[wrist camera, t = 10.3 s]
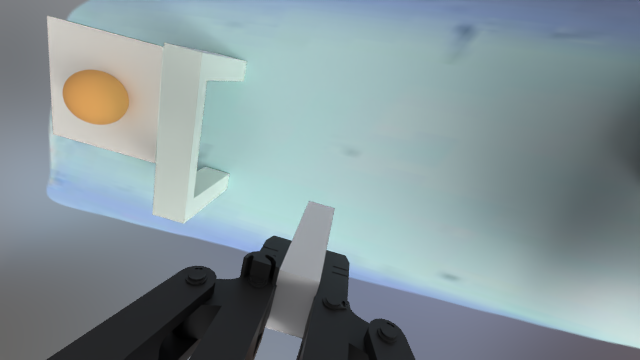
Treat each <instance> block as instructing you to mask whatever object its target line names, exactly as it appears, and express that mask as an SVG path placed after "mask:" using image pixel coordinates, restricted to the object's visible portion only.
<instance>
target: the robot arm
mask: <svg viewBox="0 0 640 360" xmlns="http://www.w3.org/2000/svg"><path fill="white" fill-rule="evenodd" d="M334 209H335V208H332V207H328V206H325V205H321V204H318V203H314V202H311V201H309V202H308V205H307V207H306V209H305V212H304V214H303V216H302V219H301V221H300V223H299V226H298V228H297V230H296V233H295V235H294V237H293V240H292V241H291V240H287V239H284V238H280V237H277V236H272V237H271V238H269V239H267V240H266V242H265V243H264V245H263V247H262V248H261V250H260V251H257V252H251V253H249V254H247V255H246V256H245V257H244V260H243V265H242V270H241V275H240V277H239V278H236V279H216V275H215V272H214V271H212V270H211V269H210V268H207V267H204V266H192V267H187V268H185V269H183V270H181V271H180V272H178V273H177V274H175V275H174V276H172V277H171V278H169V279H168V280H166V281H164V282H163V283H161V284H160V285H158V286H157V287H155V288H154V289H152V290H151V291H150V292H148V293H146V294H145V295H143V296H142V297H140V298H139V299H137V300H136V301H134V302H133V303H131V304H130V305H129V306H127V307H125V308H124V309H122V310H121V311H119V312H118V313H116V314H115V315H113V316H112V317H110V318H109V319H107V320H106V321H104V322H103V323H101V324H100V325H98V326H97V327H95V328H93V329H92V330H91V331H89V332H87V333H86V334H84V335H83V336H82V337H80V338H78V339H77V340H75V341H74V342H72V343H71V344H69V345H68V346H66V347H65V348H64V349H62V350H60V351H59V352H57V353H56V354H54V355H53V356H51V357H50V358H48V359H47V360H187V359H188V358H189V357H190V356H191V357H190V359H189V360H254V358H255V356H256V353H257V350H258V348H259V345H260V343H261V340H262V336H263V332H264V328H265V326H266V328H269V329H273V330H276V331H279V332H283V333H286V334H289V335H292V336H296V337H299V338H302V343H301V346H300V349H299V353H298V356H297V359H296V360H415V358H414V355H413V353H412V351H411V349H410V346H409V344H408V342H407V339H406V337H405V335H404V334H403V332H402V331H401V329H400V328H399V327H398V326H396V325H395V324H394V323H392V322H390V321H388V320H385V319H375V320H373V321H371V322H370V324H369V323H368V322H366V321H364V320H362V319H361V318H359V317H358V316H357V315H355V314H354V313H353V312H352V310H351V309H350V305H349V302H348V301H347V296H348V279H349V278H348V277H349V261H348V260H347V258H346V256H345V255H342V254H338V253H335V252H331V251H328V250H326V249H327V244H328V239H329V234H330V229H331V224H332V219H333V214H334Z"/></svg>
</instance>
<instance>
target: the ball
mask: <svg viewBox="0 0 640 360" xmlns="http://www.w3.org/2000/svg"><path fill="white" fill-rule="evenodd" d="M62 94H63V99H64V102H65V104H66V106H67V108H68V109H69V110H70V112H71V113H72V114H74V115H75V116H76V117H77V118H79V119H81V120H83V121H85V122H88V123H91V124H97V125H105V124H111V123H114V122H116V121H118V120H119V119H121V118H122V117H123V116H124V115H125V113H126V112H127V109H128V106H129V97H128V93H127V91H126V89H125V87H124V86H123V85H122V83H121V82H120V81H119V80H118V79H116V78H115V77H114V76H112V75H110V74H108V73H106V72H103V71H99V70H82V71H79V72H76V73H74V74H73V75H71V76H70V77H69V78H68V79H67V80H66V82H65V84H64V86H63V93H62Z"/></svg>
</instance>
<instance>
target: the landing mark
mask: <svg viewBox="0 0 640 360" xmlns="http://www.w3.org/2000/svg"><path fill="white" fill-rule="evenodd" d="M47 27H48V46H49V64H50V84H51V103H52V122H53V134H54V135H58V136H61V137H65V138H68V139H72V140H75V141H79V142H82V143H86V144H89V145H93V146H96V147H100V148H103V149H107V150H110V151H114V152H117V153H121V154H124V155H128V156H131V157H135V158H138V159H142V160H145V161H149V162H152V163H156V155H157V140H158V125H159V110H160V95H161V80H162V66H163V51H164V47H162V46H159V45H155V44H151V43H147V42H144V41H140V40H136V39H133V38H129V37H125V36H121V35H118V34H114V33H110V32H107V31H103V30H99V29H95V28H92V27H88V26H84V25H80V24H77V23H73V22H69V21H66V20H62V19H58V18H54V17H51V16H47ZM82 70H99V71H103V72H106V73H108V74H110V75H112V76H114V77H115V78H116V79H118V80H119V81H120V82H121V83H122V85H123V86H124V87H125V89H126V91H127V93H128V97H129V106H128V109H127V112H126V113H125V115H124V116H123V117H122V118H121V119H119V120H118V121H116V122H114V123H111V124H105V125H97V124H91V123H88V122H85V121H83V120H81V119H79V118H77V117H76V116H75V115H74V114H72V113H71V112H70V110H69V109H68V108H67V106H66V104H65V102H64V99H63V94H62V93H63V86H64V84H65V82H66V80H67V79H68V78H69V77H70V76H71V75H73V74H74V73H76V72H79V71H82Z"/></svg>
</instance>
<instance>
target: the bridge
mask: <svg viewBox="0 0 640 360" xmlns="http://www.w3.org/2000/svg"><path fill="white" fill-rule="evenodd" d="M246 65H247V61H244V60H240V59H236V58H232V57H229V56H225V55H221V54H217V53H212V52H207V51H203V50H198V49H193V48H188V47H183V46H178V45H173V44H169V43H164V51H163V66H162V80H161V95H160V110H159V125H158V140H157V155H156V170H155V185H154V200H153V215H156V216H160V217H163V218H167V219H170V220H173V221H177V222H180V223H185V222H187V221H188V220H189V219H190V218H192V217H193V216H194V215H195V214H197V213H198V212H199V211H200V210H202V209H203V208H204V207H205V206H207V205H208V204H209V203H210V202H212V201H213V200H214V199H215V198H217V197H218V196H219V195H220V194H222V193H223V192H224V191H225V190H227V187H228V180H229V173H226V172H222V171H219V170H215V169H212V168H208V167H204V168H202V169H200V170H198V171H197V164H198V155H199V147H200V138H201V129H202V121H203V112H204V104H205V95H206V86H207V81H244V78H245V72H246Z"/></svg>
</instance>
